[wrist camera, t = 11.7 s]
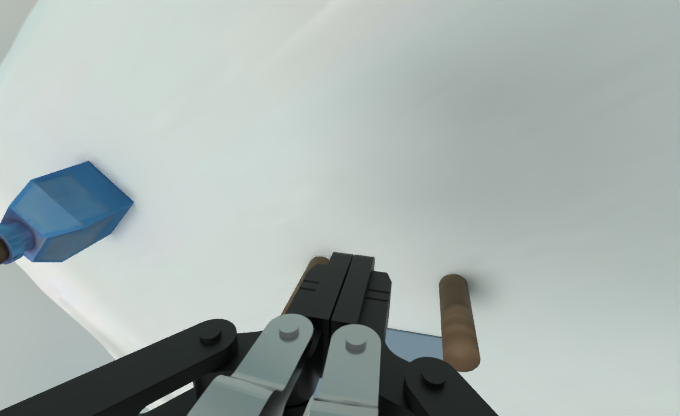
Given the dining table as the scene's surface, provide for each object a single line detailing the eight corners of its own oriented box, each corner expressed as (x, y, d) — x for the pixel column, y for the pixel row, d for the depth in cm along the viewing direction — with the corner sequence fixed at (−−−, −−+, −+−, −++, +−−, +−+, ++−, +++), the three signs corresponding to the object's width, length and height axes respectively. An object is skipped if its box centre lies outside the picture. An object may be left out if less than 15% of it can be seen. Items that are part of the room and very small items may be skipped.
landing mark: (313, 316, 39) (312, 317, 39) (453, 339, 36) (453, 340, 36) (315, 408, 46) (315, 409, 45) (435, 434, 43) (435, 436, 42)
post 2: (440, 272, 34) (445, 342, 26) (469, 276, 33) (483, 348, 25) (437, 294, 35) (440, 368, 27) (465, 299, 34) (476, 374, 26)
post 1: (308, 255, 36) (275, 313, 28) (333, 258, 36) (306, 318, 28) (309, 276, 37) (277, 338, 29) (333, 280, 37) (307, 344, 29)
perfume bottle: (88, 160, 38) (-45, 204, 27) (134, 202, 39) (22, 260, 28) (67, 195, 40) (-62, 248, 30) (110, 233, 41) (0, 298, 31)
